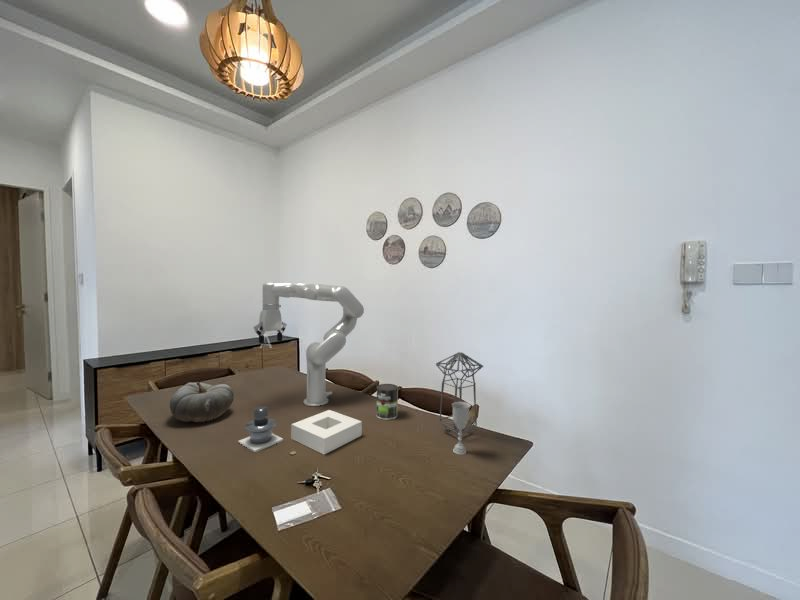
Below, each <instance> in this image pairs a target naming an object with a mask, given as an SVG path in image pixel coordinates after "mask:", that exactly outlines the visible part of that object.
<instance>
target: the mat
mask: <svg viewBox="0 0 800 600" xmlns="http://www.w3.org/2000/svg"><path fill="white" fill-rule="evenodd" d="M283 441H284V438H283V437H280V436H279V435H276V434H275V433H273V432H272V440H271V441H269V442H267V443H265V444H259V445H255V444H252V443H250V436H247V437H244V438H242V439H240V440H237V443H238V442H239V443H240V445H241V444H242V445H241V446H243V447H244V446H245V447H244V448H246V447H247V449H248V450H249V451H251V452H253V453H257V452H260V451H262V450H264V449H267V448H269V447H271V446H274V445H276V443H277V444H279V443H281V442H283ZM239 443H238V444H239Z"/></svg>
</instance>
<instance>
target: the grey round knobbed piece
mask: <svg viewBox="0 0 800 600" xmlns="http://www.w3.org/2000/svg"><path fill="white" fill-rule="evenodd" d="M253 413H254V414H253V415H254V416H253V420H250V421H249V422H247V423H246V424H245V429H246V431H248V432H249V437H250V443H252V444H255V445H259V444H265V443H267V442H269V441H271V440H272V433H273V429H274V428H275V427H276V425H277V421H276V419H274V418H271V417H270V418H269V407H268V406H265V405H264V406H257V407H255V408H254V409H253Z"/></svg>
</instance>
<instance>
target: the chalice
mask: <svg viewBox="0 0 800 600" xmlns="http://www.w3.org/2000/svg"><path fill="white" fill-rule="evenodd" d="M451 407H452V415H453V416H452V420H453V423H455V425H456V427H455V428H456V429H459V430H458V437H459V438H457V440H458V442H457V443H456V444H455V445H454V446H453V447H454V448H453V450H452V451H453V453H454V454H456V455H465V454H466V453H467V450H466V447H465V445H464V444H463V443H462V441H463V437H462V435H463V432H462V431H463V430H462V429H464V428H466V427H465V426H467V424H468V422H469V420H468V419H470V408H471V404H470V403H468V402H466V401H465V402H464V401H462V402H460V401H456V402H455V401H454V402H452V403H451ZM461 437H462V438H461Z"/></svg>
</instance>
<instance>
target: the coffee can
mask: <svg viewBox="0 0 800 600" xmlns="http://www.w3.org/2000/svg"><path fill="white" fill-rule="evenodd" d="M398 396H399V386H398V385H397V384H393V383H381V384H379V385H376V415H375V416H376V418H377V419H380V420H383V421H384V420H386V421H390V420H395V419H396V418H397V417H398V405H399V402H398V398H399V397H398Z"/></svg>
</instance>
